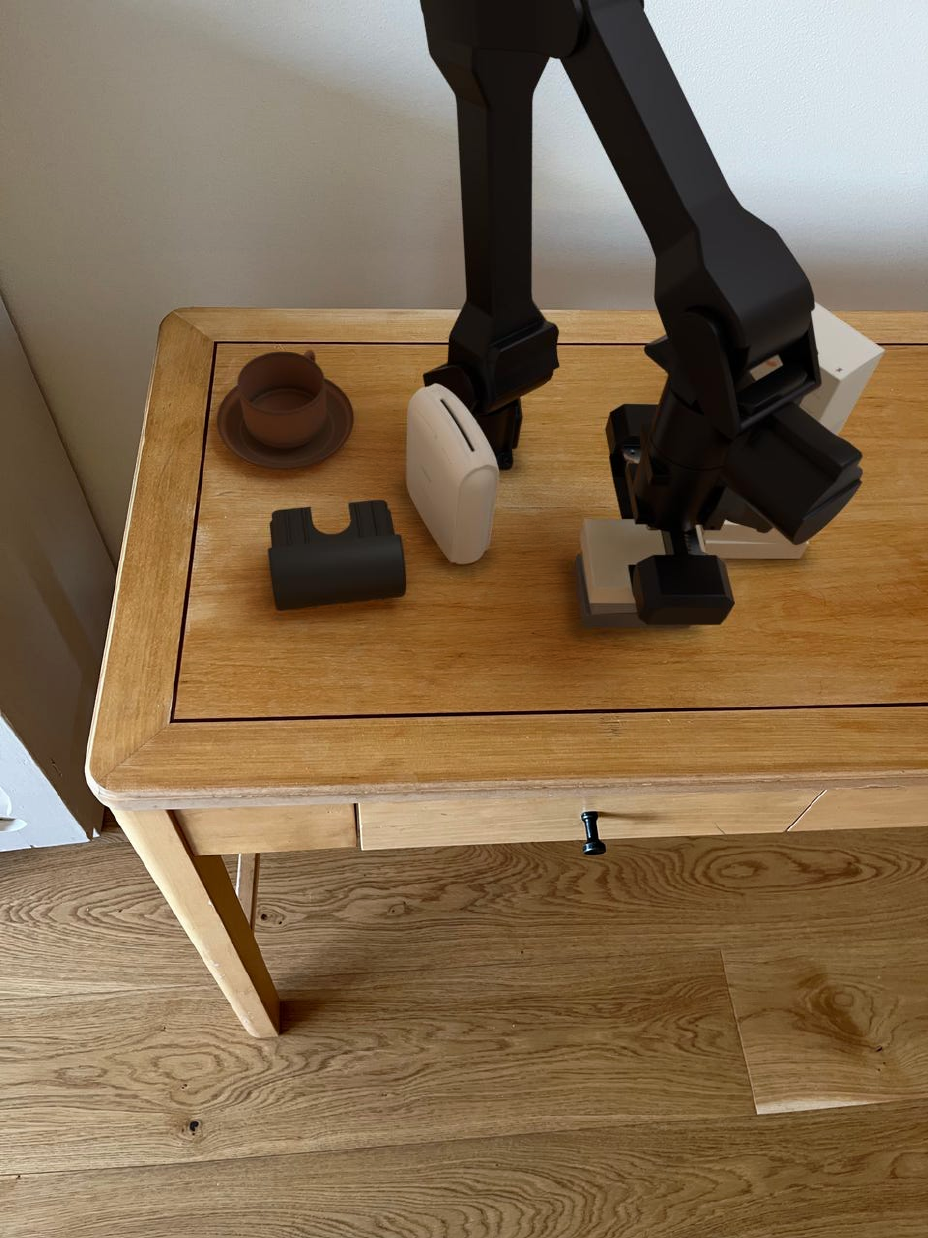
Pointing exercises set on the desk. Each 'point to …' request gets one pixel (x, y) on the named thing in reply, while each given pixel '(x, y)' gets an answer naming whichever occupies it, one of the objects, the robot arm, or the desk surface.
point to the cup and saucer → (284, 413)
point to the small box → (834, 369)
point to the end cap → (335, 558)
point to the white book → (617, 556)
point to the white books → (749, 543)
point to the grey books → (606, 607)
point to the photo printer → (450, 473)
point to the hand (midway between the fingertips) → (639, 575)
